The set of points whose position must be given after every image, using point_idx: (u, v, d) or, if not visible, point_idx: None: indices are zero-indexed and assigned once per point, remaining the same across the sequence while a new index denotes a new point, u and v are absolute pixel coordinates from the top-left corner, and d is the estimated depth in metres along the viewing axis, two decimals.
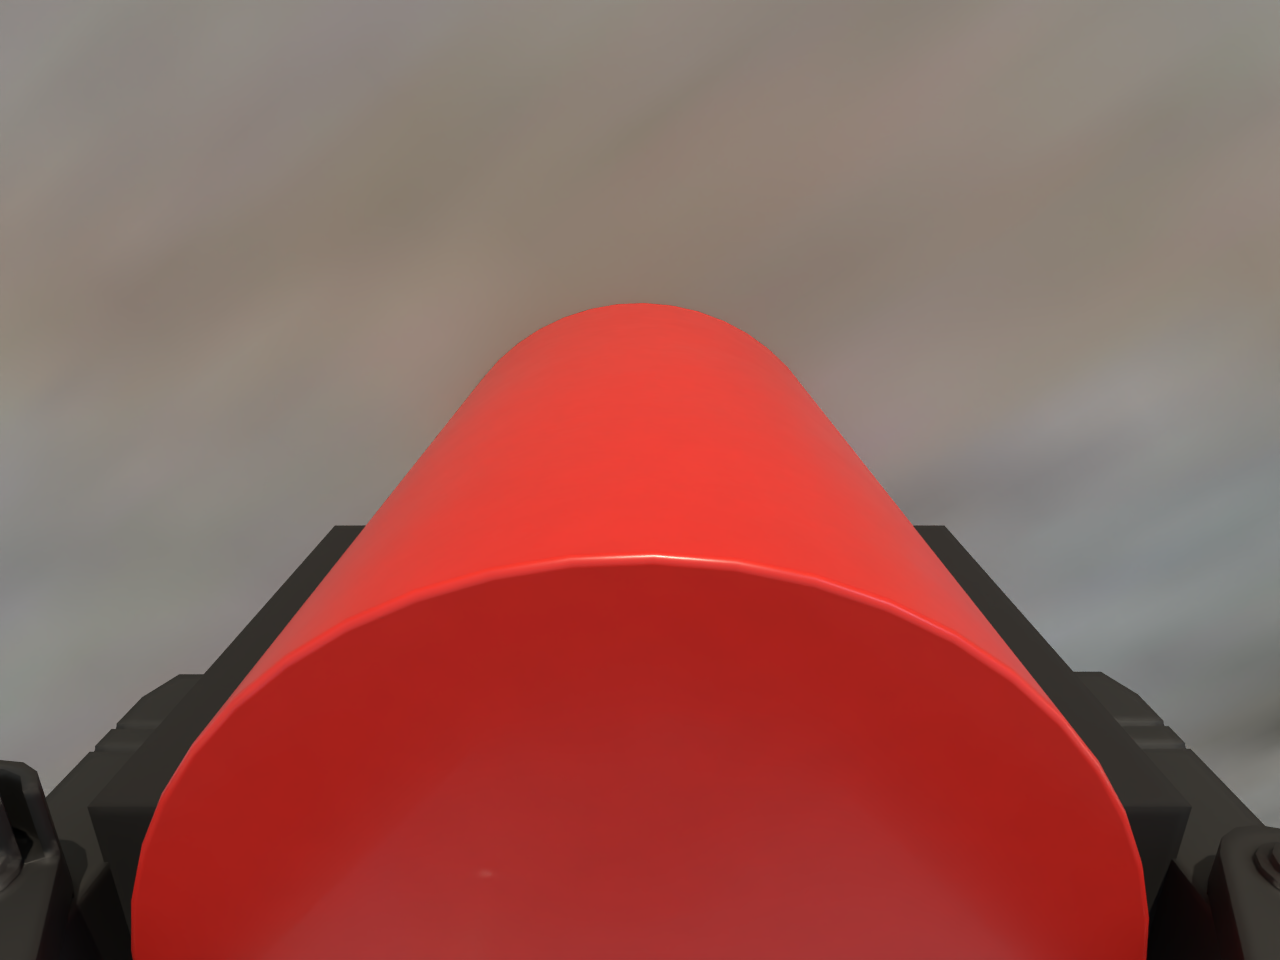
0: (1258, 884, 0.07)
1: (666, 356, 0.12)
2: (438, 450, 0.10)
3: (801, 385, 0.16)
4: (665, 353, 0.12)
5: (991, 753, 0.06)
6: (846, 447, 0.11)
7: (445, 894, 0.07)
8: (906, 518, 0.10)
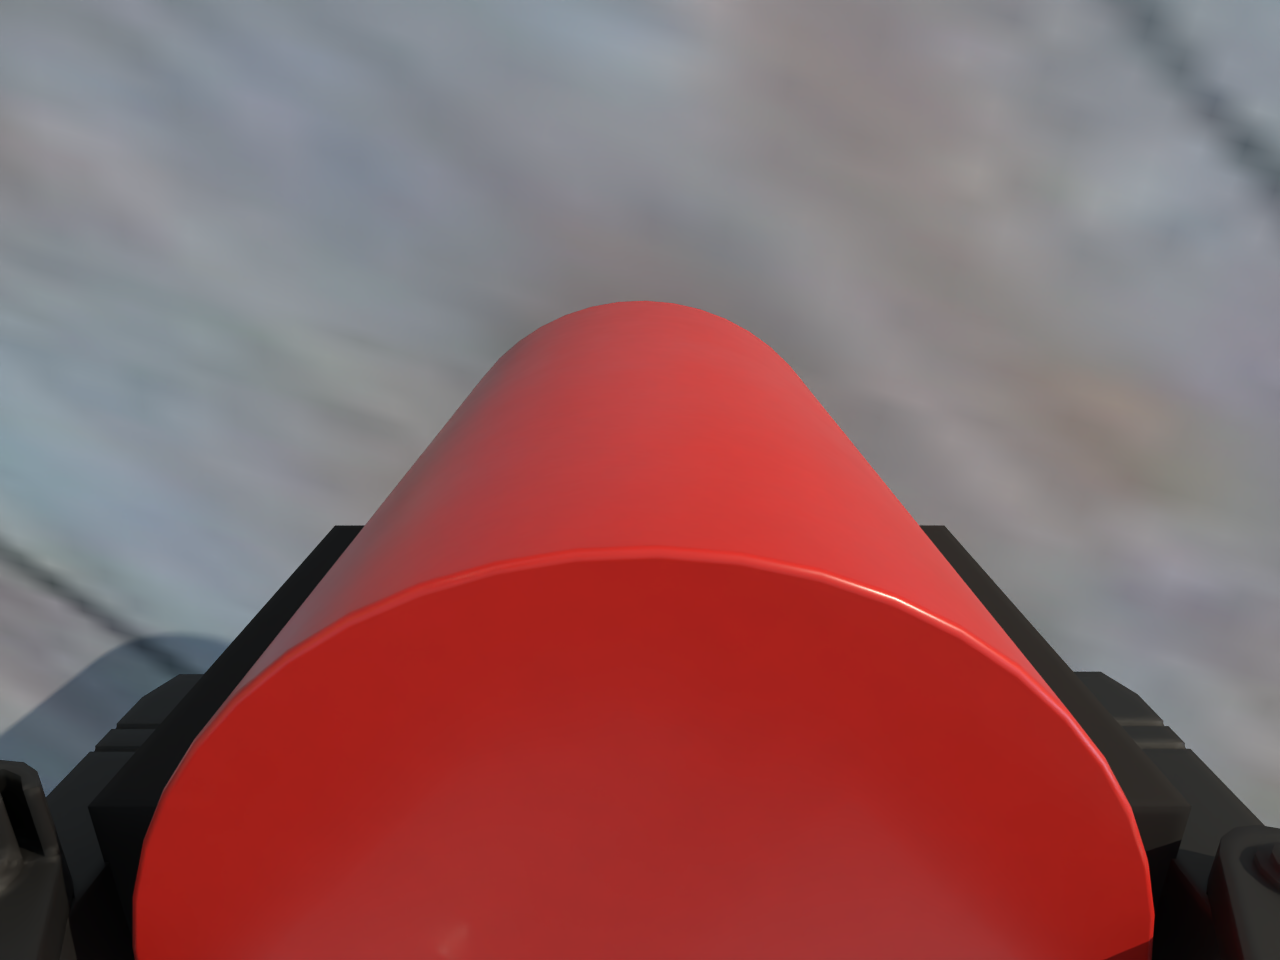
0: (1258, 884, 0.07)
1: (668, 353, 0.12)
2: (440, 447, 0.10)
3: (803, 383, 0.16)
4: (667, 349, 0.12)
5: (997, 748, 0.06)
6: (849, 444, 0.11)
7: (447, 891, 0.07)
8: (909, 515, 0.09)
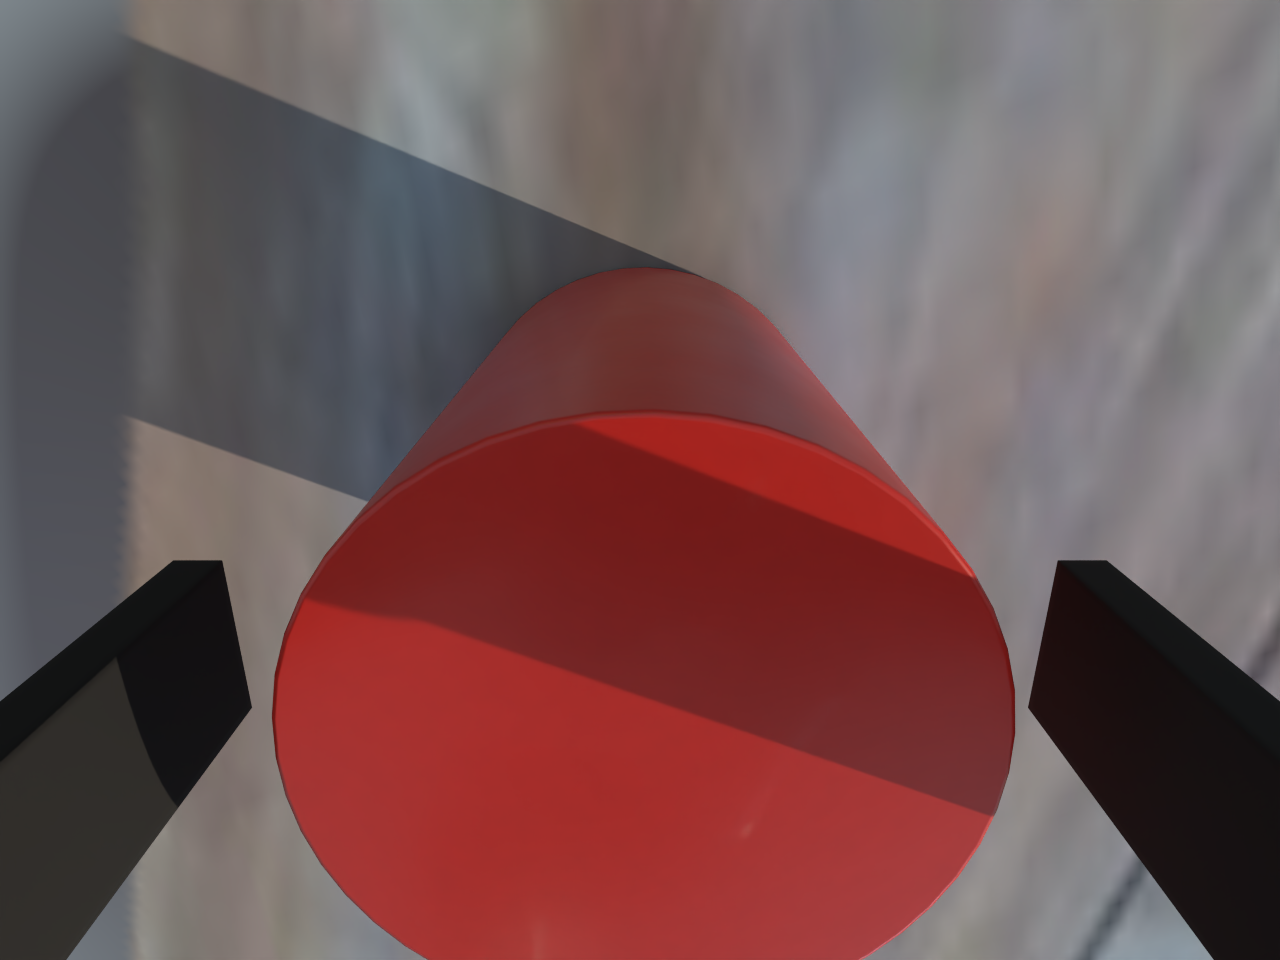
0: None
1: (665, 304, 0.14)
2: (480, 375, 0.13)
3: (783, 337, 0.18)
4: (665, 301, 0.15)
5: (893, 561, 0.09)
6: (813, 377, 0.14)
7: (502, 673, 0.09)
8: (855, 425, 0.12)
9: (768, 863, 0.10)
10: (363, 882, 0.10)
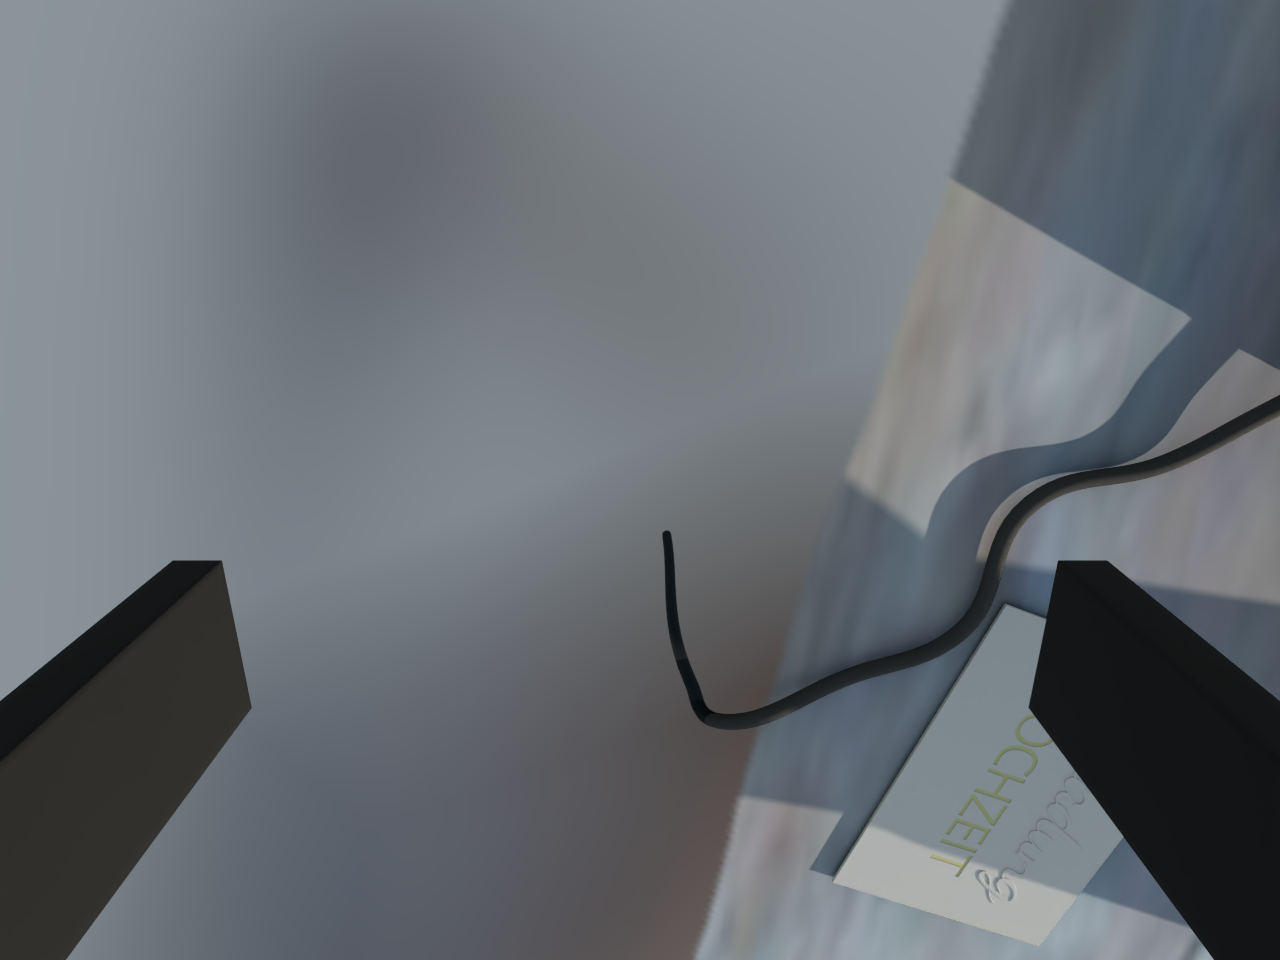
0: None
1: None
2: None
3: None
4: None
5: None
6: None
7: None
8: None
9: None
10: None
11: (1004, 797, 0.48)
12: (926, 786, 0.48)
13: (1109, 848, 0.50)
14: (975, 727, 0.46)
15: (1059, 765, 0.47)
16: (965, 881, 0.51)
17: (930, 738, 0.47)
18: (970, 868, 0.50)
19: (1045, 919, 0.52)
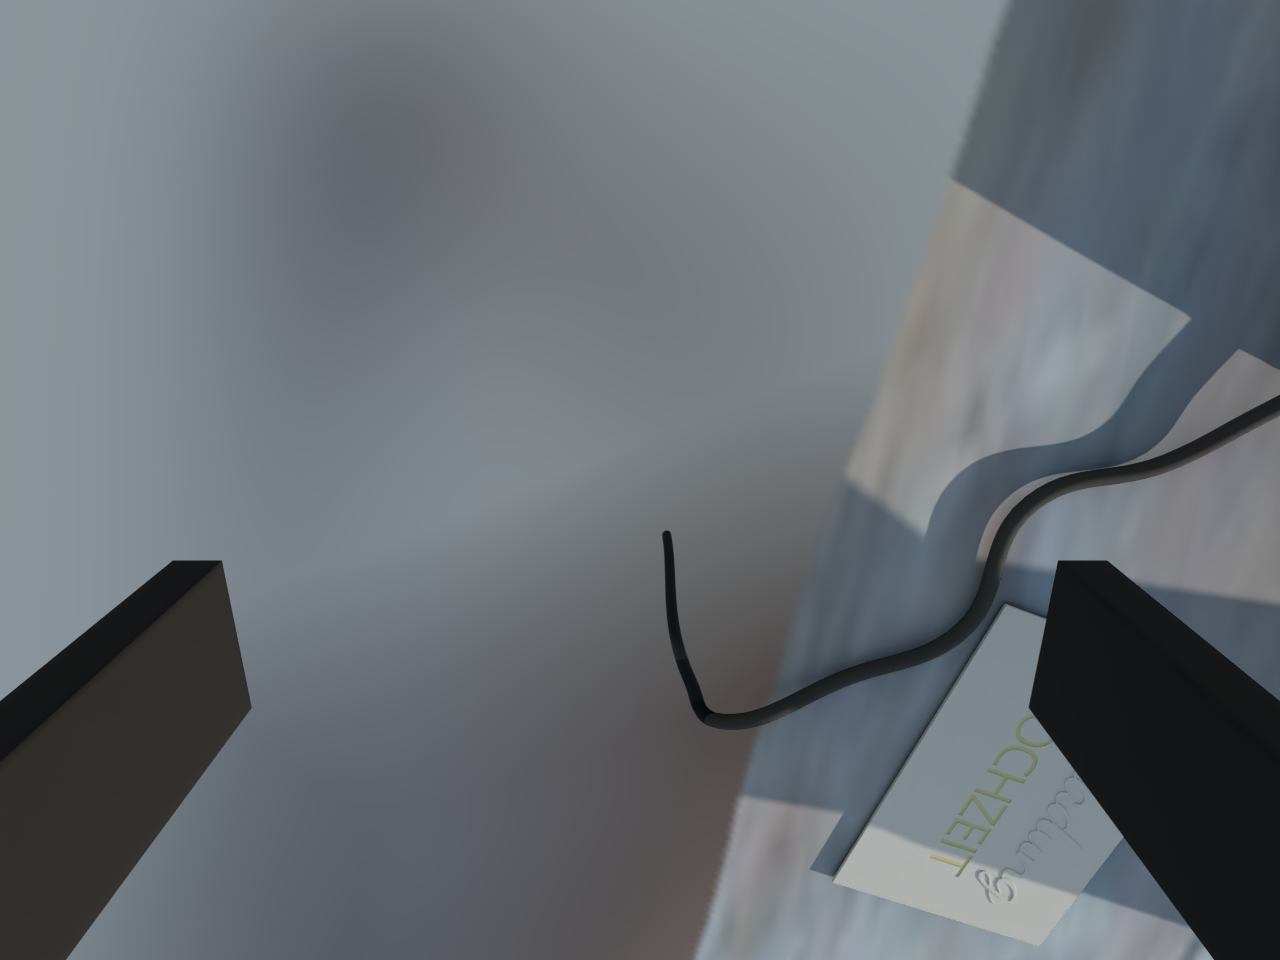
0: None
1: None
2: None
3: None
4: None
5: None
6: None
7: None
8: None
9: None
10: None
11: (1004, 797, 0.48)
12: (926, 786, 0.48)
13: (1109, 848, 0.50)
14: (975, 727, 0.46)
15: (1059, 765, 0.47)
16: (965, 881, 0.51)
17: (930, 738, 0.47)
18: (970, 868, 0.50)
19: (1045, 919, 0.52)
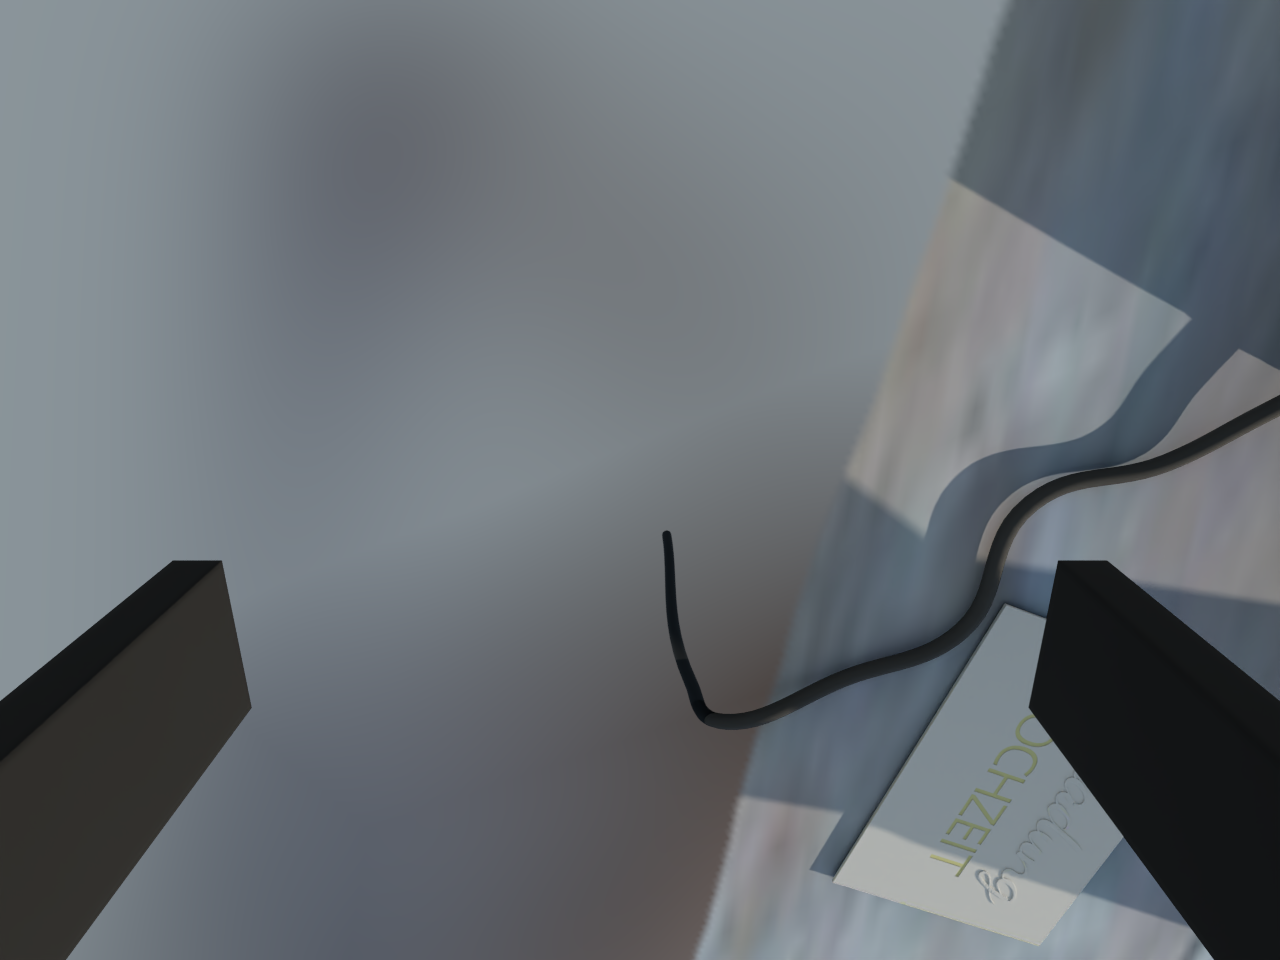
0: None
1: None
2: None
3: None
4: None
5: None
6: None
7: None
8: None
9: None
10: None
11: (1004, 797, 0.48)
12: (926, 786, 0.48)
13: (1109, 848, 0.50)
14: (975, 727, 0.46)
15: (1059, 765, 0.47)
16: (965, 881, 0.51)
17: (930, 738, 0.47)
18: (970, 868, 0.50)
19: (1045, 919, 0.52)
